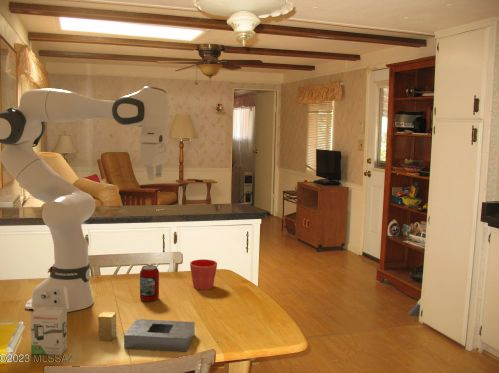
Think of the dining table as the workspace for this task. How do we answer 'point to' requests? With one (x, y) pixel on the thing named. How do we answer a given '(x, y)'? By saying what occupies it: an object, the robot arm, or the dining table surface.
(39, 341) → the ink box
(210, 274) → the flower pot
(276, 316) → the dining table surface
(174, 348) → the jig
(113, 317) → the tilted wooden brick
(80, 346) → the dining table surface
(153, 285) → the beverage can
